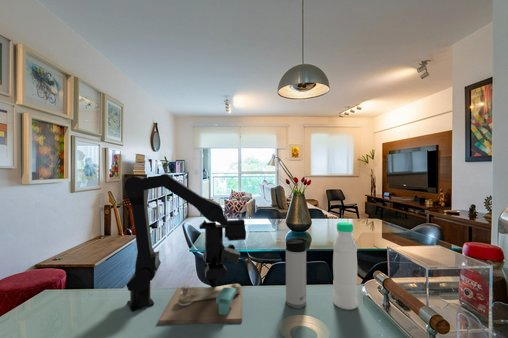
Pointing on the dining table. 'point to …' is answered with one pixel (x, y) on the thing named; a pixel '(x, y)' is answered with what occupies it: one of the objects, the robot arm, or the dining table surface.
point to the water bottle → (345, 268)
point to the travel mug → (296, 272)
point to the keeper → (222, 300)
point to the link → (203, 293)
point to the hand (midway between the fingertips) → (213, 288)
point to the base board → (201, 310)
